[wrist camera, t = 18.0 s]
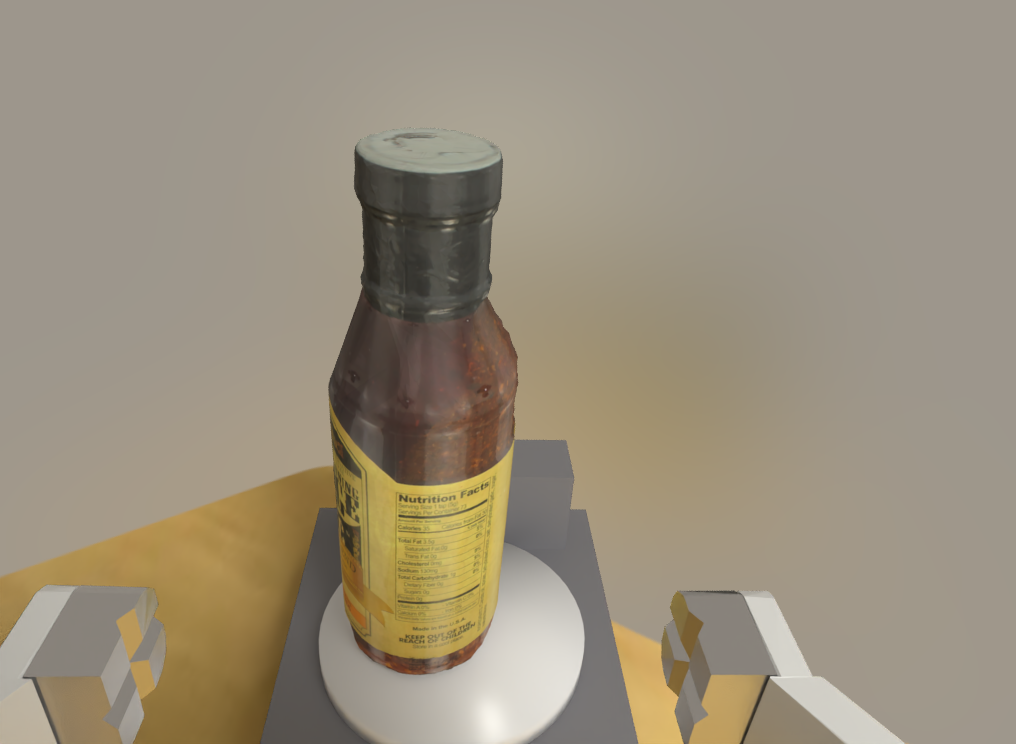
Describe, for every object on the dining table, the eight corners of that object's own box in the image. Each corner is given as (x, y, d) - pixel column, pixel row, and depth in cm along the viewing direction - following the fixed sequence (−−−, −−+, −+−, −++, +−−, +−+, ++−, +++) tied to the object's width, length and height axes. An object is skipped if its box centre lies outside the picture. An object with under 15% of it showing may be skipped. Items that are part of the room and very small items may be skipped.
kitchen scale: (262, 817, 27) (236, 687, 23) (324, 546, 40) (314, 432, 36) (630, 808, 28) (662, 682, 24) (578, 546, 41) (594, 436, 37)
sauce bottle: (365, 559, 33) (348, 105, 23) (501, 573, 33) (545, 123, 23) (324, 686, 27) (277, 159, 17) (488, 703, 27) (539, 183, 17)
